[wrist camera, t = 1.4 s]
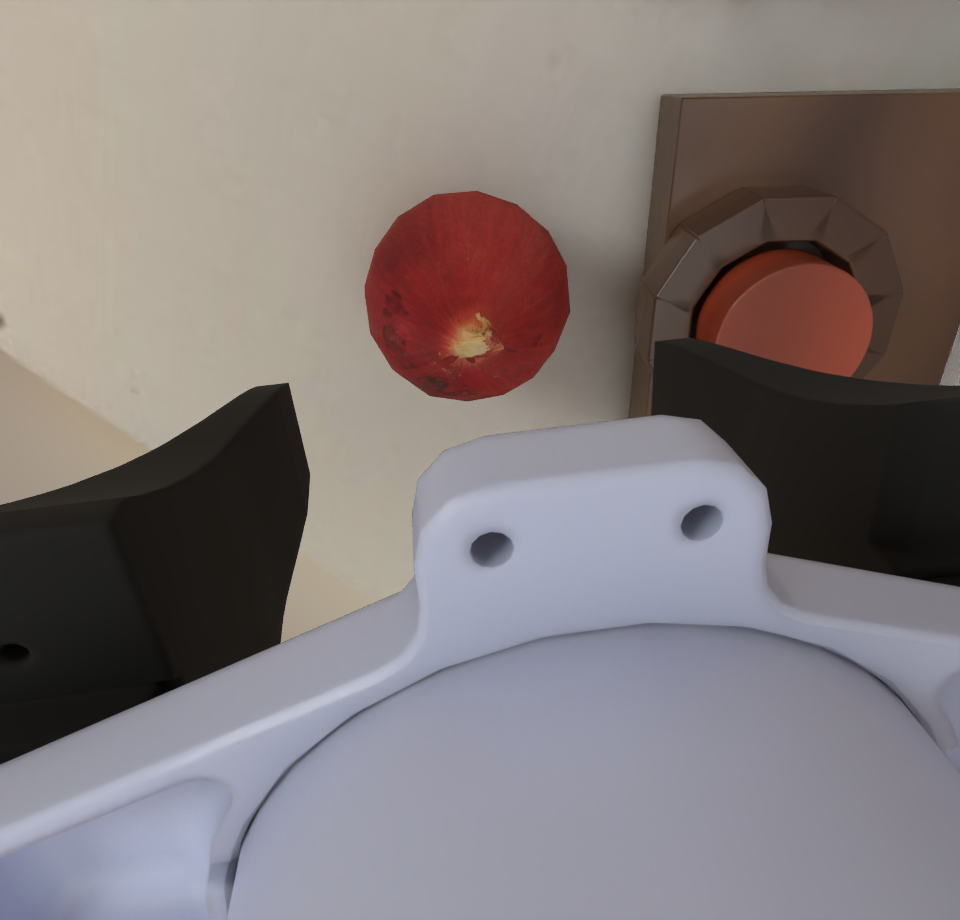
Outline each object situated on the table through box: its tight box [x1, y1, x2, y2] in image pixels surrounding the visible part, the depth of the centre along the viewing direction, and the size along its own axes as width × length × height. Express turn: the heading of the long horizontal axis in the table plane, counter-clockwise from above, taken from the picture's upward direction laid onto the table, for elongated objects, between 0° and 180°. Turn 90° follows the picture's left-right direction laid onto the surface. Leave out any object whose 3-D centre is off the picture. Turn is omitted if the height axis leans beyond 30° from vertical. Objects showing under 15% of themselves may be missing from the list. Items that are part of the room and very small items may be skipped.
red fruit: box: [365, 191, 570, 401], centre depth 20 cm, size 6×6×8 cm
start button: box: [696, 249, 873, 377], centre depth 20 cm, size 4×4×2 cm
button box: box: [629, 89, 960, 419], centre depth 22 cm, size 11×12×4 cm
